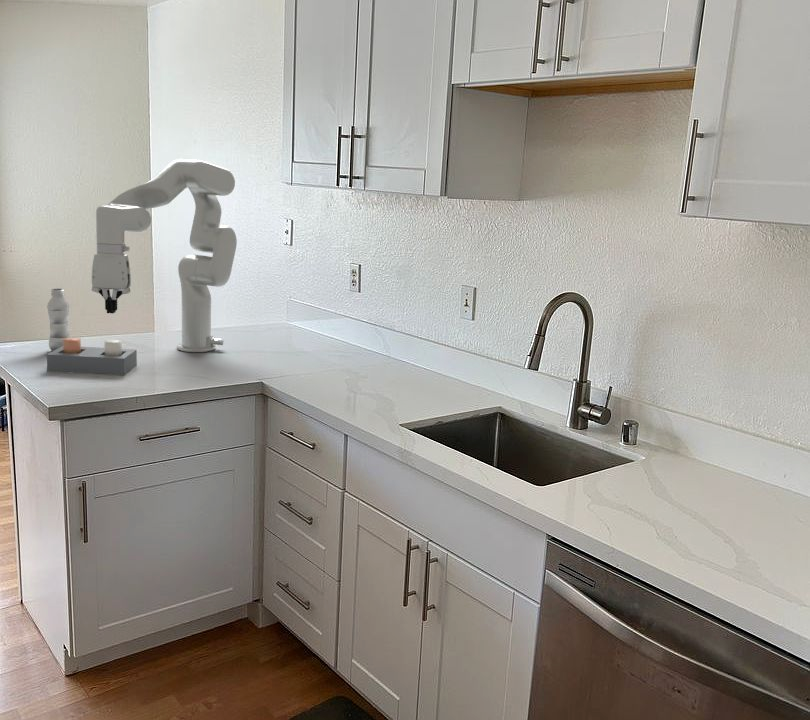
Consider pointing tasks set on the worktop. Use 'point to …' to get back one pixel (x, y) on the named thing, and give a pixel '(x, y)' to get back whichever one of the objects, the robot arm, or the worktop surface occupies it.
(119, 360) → the grey two-hole block
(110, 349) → the ivory button
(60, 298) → the plastic bottle
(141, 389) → the worktop surface
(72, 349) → the terracotta button
